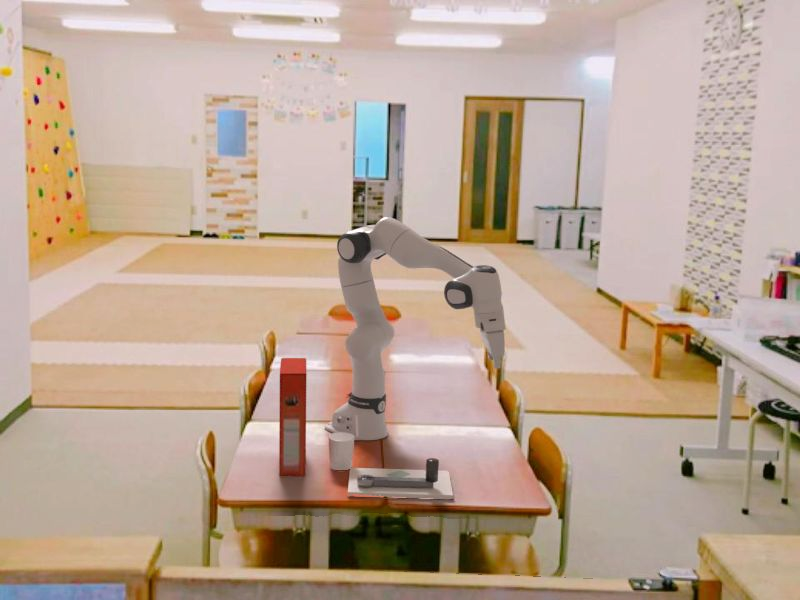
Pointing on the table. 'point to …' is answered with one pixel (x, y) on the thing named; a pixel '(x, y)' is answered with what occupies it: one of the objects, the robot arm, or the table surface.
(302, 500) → the table surface
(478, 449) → the table surface
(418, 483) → the lever
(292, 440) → the file binder
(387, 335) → the robot arm
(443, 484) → the lever board
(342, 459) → the white cup
